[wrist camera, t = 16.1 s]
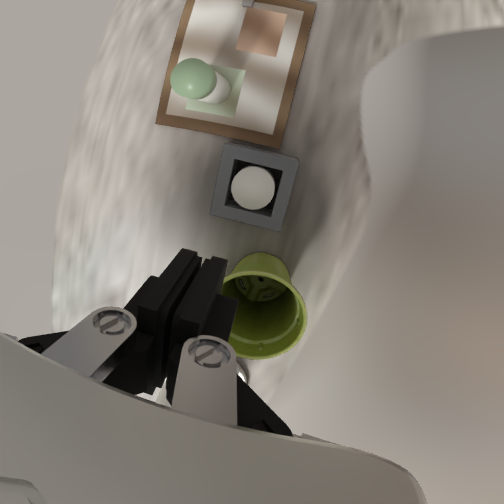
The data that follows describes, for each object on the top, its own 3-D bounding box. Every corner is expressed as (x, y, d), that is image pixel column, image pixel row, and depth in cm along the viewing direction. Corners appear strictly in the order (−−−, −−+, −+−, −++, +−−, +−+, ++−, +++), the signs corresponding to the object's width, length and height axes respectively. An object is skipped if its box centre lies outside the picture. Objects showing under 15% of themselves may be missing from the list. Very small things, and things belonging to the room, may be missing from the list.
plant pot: (205, 255, 35) (182, 293, 27) (284, 223, 33) (283, 256, 25) (241, 321, 38) (229, 369, 30) (314, 296, 36) (321, 343, 28)
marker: (226, 107, 28) (205, 100, 21) (196, 102, 28) (166, 94, 21) (234, 77, 27) (215, 60, 19) (203, 72, 27) (175, 56, 19)
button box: (280, 223, 33) (280, 232, 31) (215, 207, 33) (209, 214, 31) (298, 158, 30) (299, 161, 28) (229, 142, 30) (224, 143, 28)
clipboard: (279, 148, 30) (279, 149, 29) (157, 123, 30) (152, 123, 29) (316, 3, 24) (317, -1, 23) (193, -14, 24) (190, -19, 23)
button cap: (269, 207, 32) (268, 214, 30) (231, 198, 32) (227, 203, 30) (279, 169, 30) (279, 173, 28) (240, 160, 30) (236, 162, 28)
